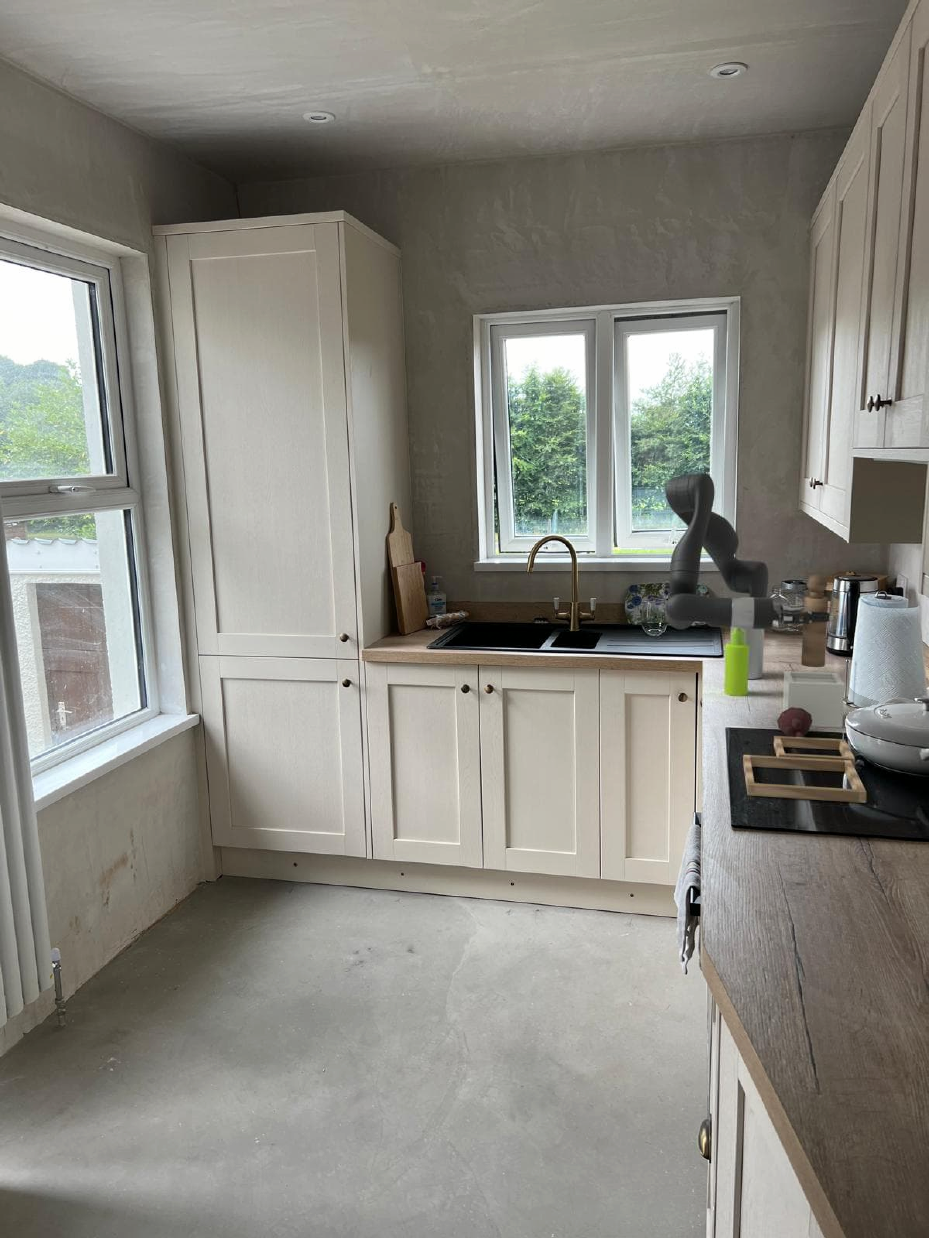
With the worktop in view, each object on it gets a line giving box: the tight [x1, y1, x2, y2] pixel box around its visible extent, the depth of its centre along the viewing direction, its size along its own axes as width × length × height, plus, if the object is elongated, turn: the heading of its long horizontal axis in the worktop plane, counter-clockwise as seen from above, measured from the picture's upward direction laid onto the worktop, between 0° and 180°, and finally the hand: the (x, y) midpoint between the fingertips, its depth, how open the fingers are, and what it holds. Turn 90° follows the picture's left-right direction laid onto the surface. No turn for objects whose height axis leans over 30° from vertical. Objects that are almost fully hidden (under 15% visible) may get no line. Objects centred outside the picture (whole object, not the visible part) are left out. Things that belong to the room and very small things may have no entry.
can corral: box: [773, 735, 856, 768], centre depth 191 cm, size 13×14×2 cm
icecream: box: [776, 707, 812, 737], centre depth 204 cm, size 7×8×15 cm
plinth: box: [782, 670, 845, 729], centre depth 217 cm, size 12×12×10 cm
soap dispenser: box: [723, 628, 749, 697], centre depth 242 cm, size 6×7×20 cm
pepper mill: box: [800, 574, 829, 668], centre depth 214 cm, size 5×5×22 cm
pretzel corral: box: [742, 754, 867, 804], centre depth 175 cm, size 18×20×2 cm
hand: (827, 615), depth 213 cm, fingers closed on pepper mill, 5 cm apart
